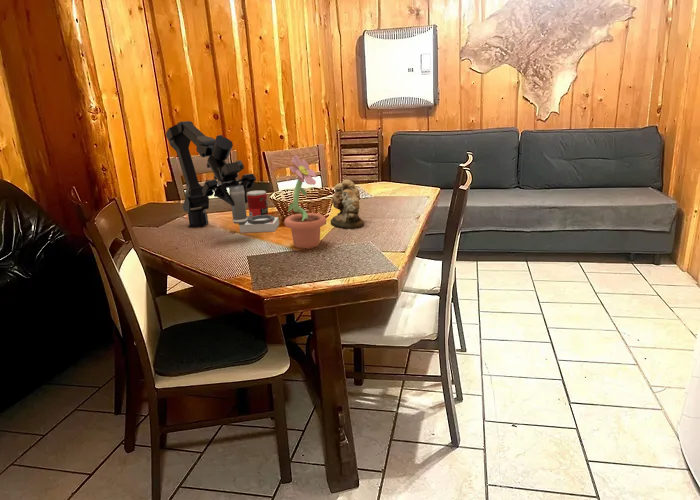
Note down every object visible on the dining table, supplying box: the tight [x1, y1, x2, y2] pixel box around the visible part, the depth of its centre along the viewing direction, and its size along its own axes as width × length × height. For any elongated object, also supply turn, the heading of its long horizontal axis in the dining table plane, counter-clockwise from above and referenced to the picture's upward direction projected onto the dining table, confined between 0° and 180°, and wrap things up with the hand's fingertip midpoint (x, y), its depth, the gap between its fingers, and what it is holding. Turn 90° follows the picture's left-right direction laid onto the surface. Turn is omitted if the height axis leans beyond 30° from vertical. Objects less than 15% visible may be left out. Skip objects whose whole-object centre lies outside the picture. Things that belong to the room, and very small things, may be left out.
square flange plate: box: [238, 214, 280, 234], centre depth 190 cm, size 13×10×4 cm
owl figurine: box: [330, 179, 365, 230], centre depth 190 cm, size 18×12×17 cm, turn 26°
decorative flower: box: [283, 154, 327, 250], centre depth 162 cm, size 15×14×30 cm
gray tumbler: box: [228, 185, 248, 225], centre depth 172 cm, size 5×5×12 cm
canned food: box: [246, 190, 269, 217], centre depth 206 cm, size 8×8×11 cm
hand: (240, 203), depth 171 cm, fingers closed on gray tumbler, 5 cm apart
